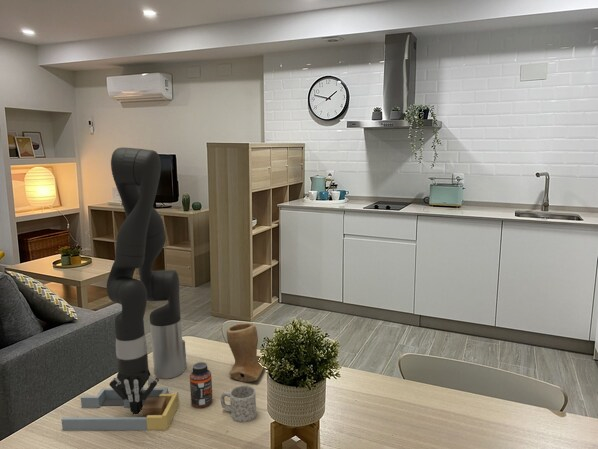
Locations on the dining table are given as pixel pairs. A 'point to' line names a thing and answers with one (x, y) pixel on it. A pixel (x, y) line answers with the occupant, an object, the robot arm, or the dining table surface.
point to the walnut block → (154, 406)
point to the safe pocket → (165, 419)
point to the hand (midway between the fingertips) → (137, 412)
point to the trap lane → (109, 422)
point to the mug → (241, 403)
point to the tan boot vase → (244, 352)
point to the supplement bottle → (201, 385)
